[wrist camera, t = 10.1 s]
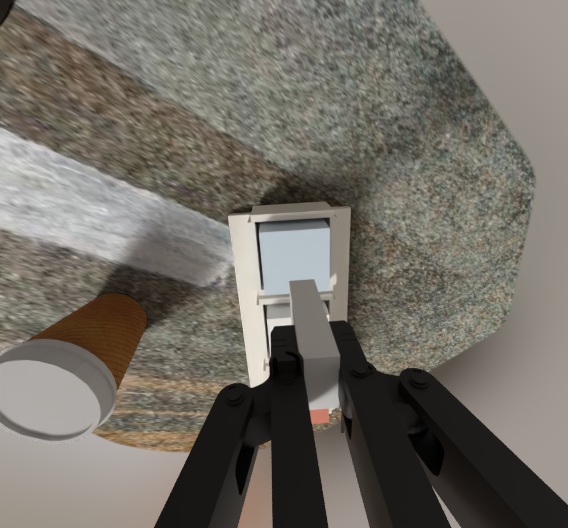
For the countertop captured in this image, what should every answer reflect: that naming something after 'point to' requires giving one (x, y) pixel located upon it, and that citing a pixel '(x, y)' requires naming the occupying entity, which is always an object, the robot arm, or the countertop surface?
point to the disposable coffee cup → (70, 371)
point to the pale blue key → (294, 253)
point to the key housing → (251, 274)
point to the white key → (281, 316)
